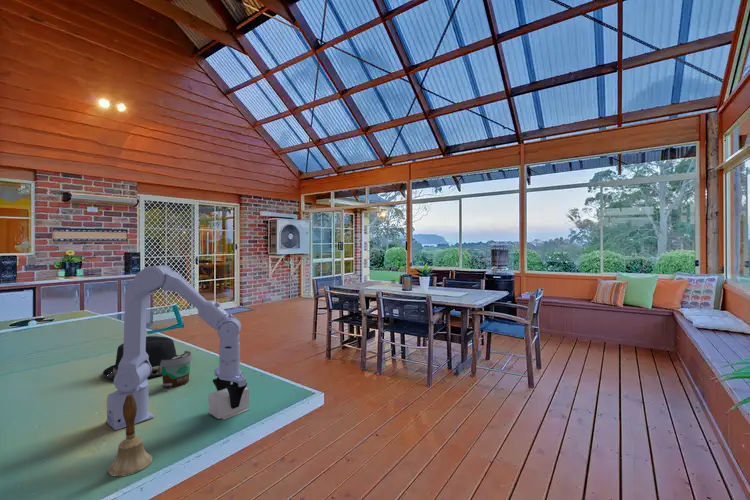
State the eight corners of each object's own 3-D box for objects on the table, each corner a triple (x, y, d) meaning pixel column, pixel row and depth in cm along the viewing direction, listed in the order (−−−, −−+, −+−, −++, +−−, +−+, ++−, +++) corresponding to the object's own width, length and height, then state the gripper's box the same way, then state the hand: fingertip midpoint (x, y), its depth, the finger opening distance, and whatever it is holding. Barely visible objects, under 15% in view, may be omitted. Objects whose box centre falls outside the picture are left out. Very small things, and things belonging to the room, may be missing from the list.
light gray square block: (223, 419, 102) (223, 419, 102) (209, 411, 107) (209, 410, 107) (249, 410, 108) (249, 409, 108) (234, 402, 113) (234, 401, 113)
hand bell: (128, 480, 76) (128, 404, 76) (98, 473, 78) (98, 399, 78) (161, 458, 84) (161, 389, 83) (133, 452, 86) (133, 385, 86)
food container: (175, 391, 122) (175, 361, 122) (159, 389, 123) (159, 360, 123) (200, 378, 134) (200, 351, 134) (185, 376, 135) (185, 350, 135)
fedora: (100, 369, 142) (100, 338, 142) (177, 356, 160) (177, 328, 160) (106, 388, 124) (106, 352, 124) (192, 371, 142) (192, 339, 142)
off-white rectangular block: (218, 419, 102) (218, 399, 102) (208, 412, 106) (208, 394, 106) (249, 406, 109) (248, 388, 109) (238, 401, 113) (238, 384, 113)
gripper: (255, 360, 106) (255, 406, 106) (229, 351, 115) (229, 393, 115) (233, 367, 101) (232, 415, 101) (207, 356, 110) (207, 401, 110)
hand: (229, 404), depth 108 cm, fingers closed on off-white rectangular block, 6 cm apart
